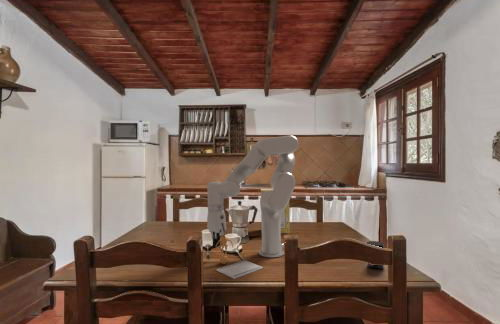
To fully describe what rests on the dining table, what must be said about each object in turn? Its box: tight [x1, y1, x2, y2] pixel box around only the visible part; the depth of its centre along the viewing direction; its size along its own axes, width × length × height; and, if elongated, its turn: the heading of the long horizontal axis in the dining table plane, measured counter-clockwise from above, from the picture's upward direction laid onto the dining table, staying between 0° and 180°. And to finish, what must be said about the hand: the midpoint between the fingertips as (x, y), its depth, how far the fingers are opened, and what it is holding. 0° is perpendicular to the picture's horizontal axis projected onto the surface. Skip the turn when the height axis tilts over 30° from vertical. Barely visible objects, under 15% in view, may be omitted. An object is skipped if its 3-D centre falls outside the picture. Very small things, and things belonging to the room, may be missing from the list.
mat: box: [216, 260, 264, 280], centre depth 122 cm, size 16×12×1 cm
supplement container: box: [366, 240, 385, 270], centre depth 122 cm, size 7×7×10 cm
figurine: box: [216, 236, 234, 265], centre depth 130 cm, size 8×6×12 cm
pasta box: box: [260, 188, 291, 234], centre depth 188 cm, size 18×10×28 cm, turn 88°
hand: (216, 245), depth 135 cm, fingers closed
